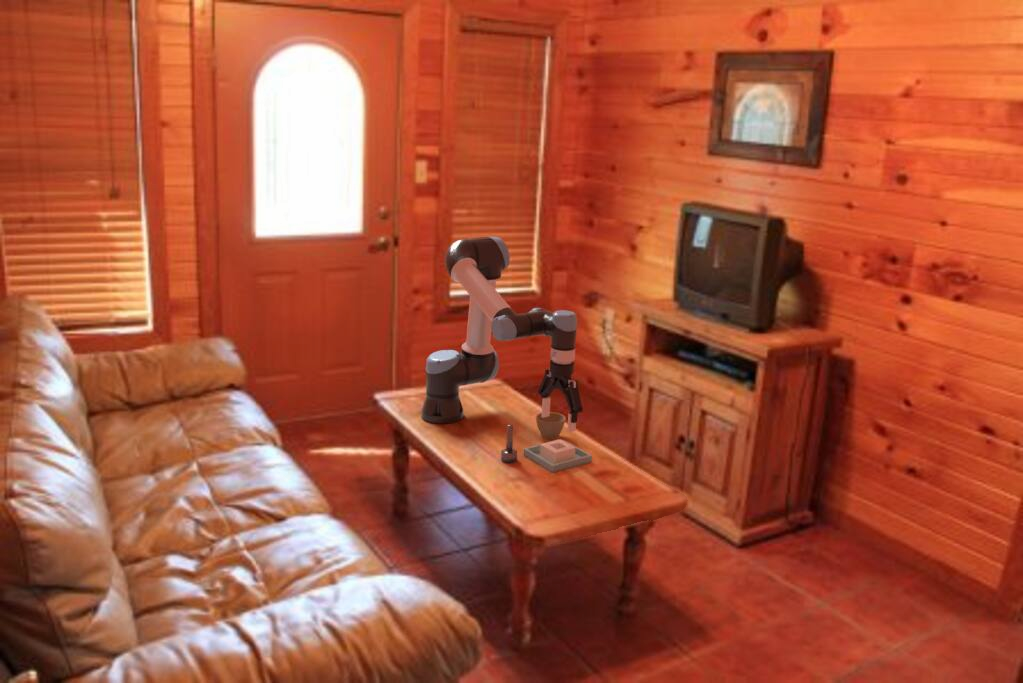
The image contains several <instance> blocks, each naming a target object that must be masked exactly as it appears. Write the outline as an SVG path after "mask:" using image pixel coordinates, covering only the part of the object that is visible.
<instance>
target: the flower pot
mask: <svg viewBox="0 0 1023 683" xmlns="http://www.w3.org/2000/svg"><path fill="white" fill-rule="evenodd" d="M541 416H542V412H541V413H538V414H537V415H536V416H535V421H536V427H537V428H538V431H539V433H540V435H541V437H542V438H543V439H544V440H549V441H551V440H552V441H553V440H557V439H558V437H559V436H560V434H561V433H562V431H563V430H564V426H565V422H566V419H567V418H566V416H565V415H563V414H561V413H558V412H552V411H550V416H548V417H544V418H542V417H541Z"/></svg>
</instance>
